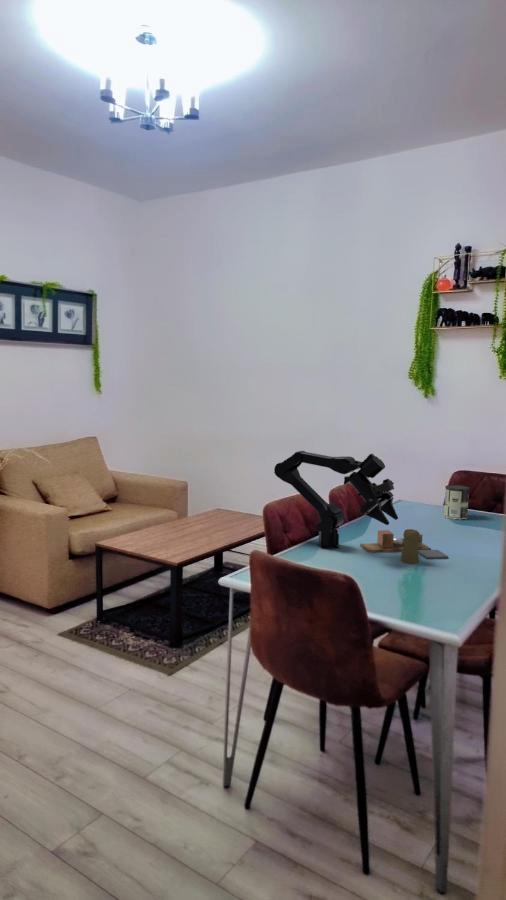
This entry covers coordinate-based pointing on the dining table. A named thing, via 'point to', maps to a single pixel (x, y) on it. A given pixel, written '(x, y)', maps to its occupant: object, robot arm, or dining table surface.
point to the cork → (410, 547)
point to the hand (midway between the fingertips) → (392, 521)
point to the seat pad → (432, 554)
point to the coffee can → (456, 502)
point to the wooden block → (388, 539)
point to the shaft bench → (396, 548)
